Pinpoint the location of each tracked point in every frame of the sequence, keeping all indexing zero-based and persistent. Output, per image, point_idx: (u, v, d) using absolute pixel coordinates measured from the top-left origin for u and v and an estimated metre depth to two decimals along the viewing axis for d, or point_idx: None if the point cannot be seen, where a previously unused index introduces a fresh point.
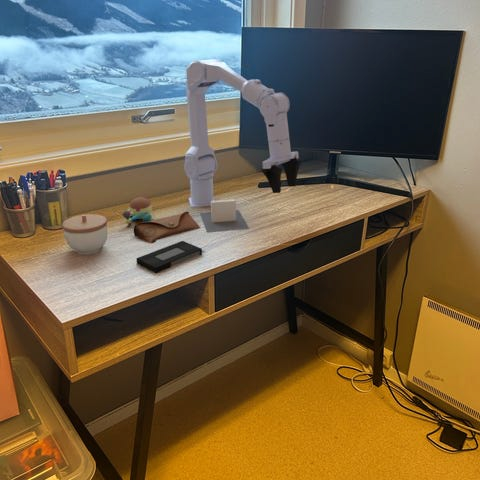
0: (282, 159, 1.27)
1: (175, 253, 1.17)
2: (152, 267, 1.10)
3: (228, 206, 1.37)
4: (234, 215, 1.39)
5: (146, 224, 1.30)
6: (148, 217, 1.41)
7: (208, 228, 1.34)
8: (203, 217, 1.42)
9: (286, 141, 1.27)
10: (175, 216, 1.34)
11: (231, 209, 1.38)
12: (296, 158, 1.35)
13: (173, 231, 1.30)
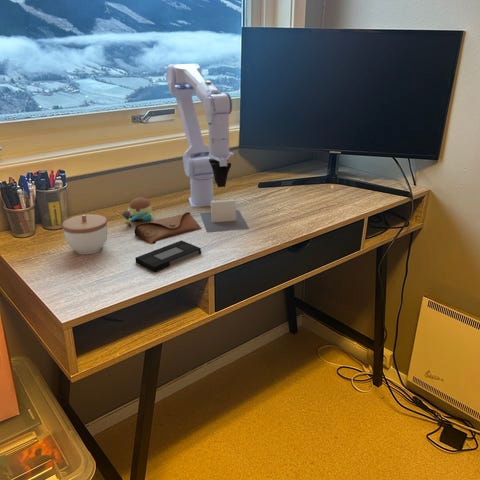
0: (228, 156, 1.35)
1: (174, 252, 1.17)
2: (151, 266, 1.10)
3: (228, 206, 1.37)
4: (234, 215, 1.39)
5: (147, 225, 1.30)
6: (148, 217, 1.41)
7: (208, 228, 1.34)
8: (203, 217, 1.42)
9: None
10: (176, 217, 1.34)
11: (231, 209, 1.38)
12: None
13: (174, 232, 1.29)
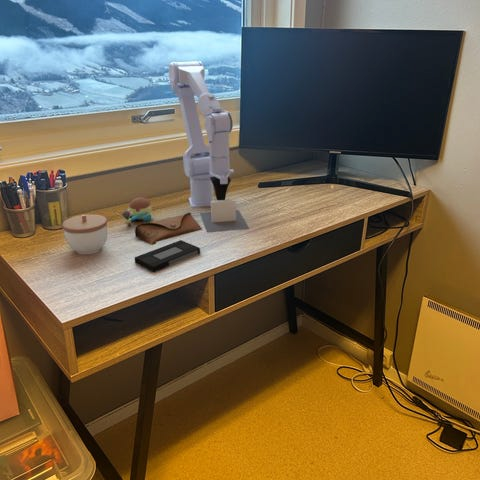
0: (229, 173, 1.37)
1: (173, 252, 1.17)
2: (150, 266, 1.11)
3: (228, 206, 1.37)
4: (234, 215, 1.39)
5: (148, 225, 1.29)
6: (148, 217, 1.41)
7: (208, 228, 1.34)
8: (203, 217, 1.42)
9: None
10: (177, 217, 1.34)
11: (231, 209, 1.38)
12: None
13: (175, 233, 1.29)
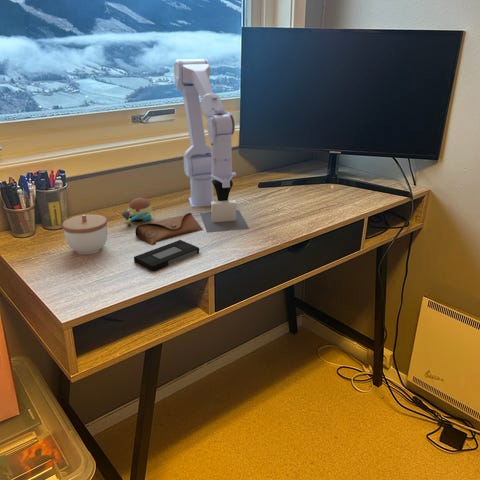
0: (231, 177, 1.33)
1: (172, 252, 1.17)
2: (149, 266, 1.11)
3: (229, 207, 1.37)
4: (234, 215, 1.39)
5: (148, 225, 1.29)
6: (148, 217, 1.41)
7: (208, 228, 1.34)
8: (203, 217, 1.42)
9: (231, 159, 1.33)
10: (177, 218, 1.33)
11: (231, 210, 1.37)
12: None
13: (176, 233, 1.29)
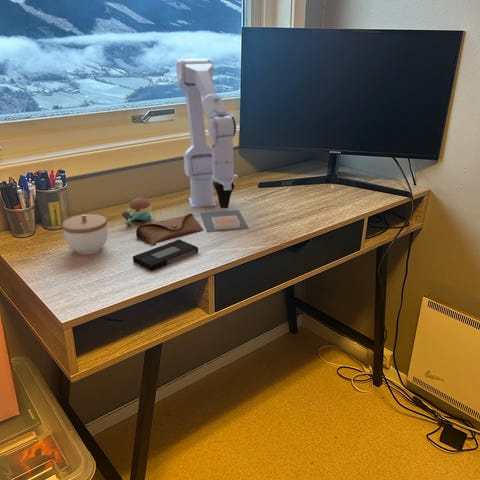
0: (233, 179, 1.31)
1: (171, 251, 1.17)
2: (148, 265, 1.11)
3: None
4: None
5: (149, 226, 1.29)
6: (148, 217, 1.41)
7: (208, 228, 1.34)
8: (203, 217, 1.42)
9: None
10: (178, 218, 1.33)
11: None
12: None
13: (176, 234, 1.28)
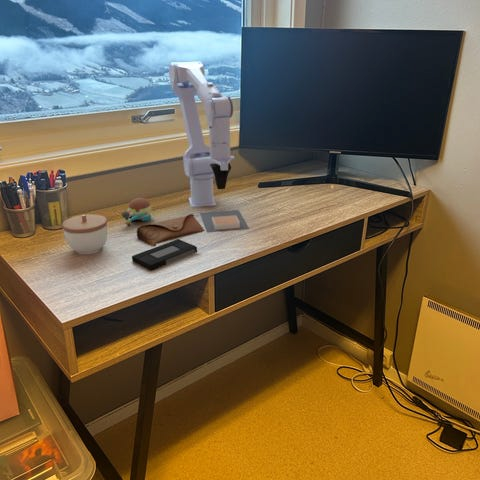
0: (229, 160, 1.34)
1: (170, 251, 1.18)
2: (147, 265, 1.11)
3: None
4: None
5: (149, 226, 1.28)
6: (147, 217, 1.41)
7: (208, 228, 1.34)
8: (203, 217, 1.42)
9: (229, 143, 1.34)
10: (179, 219, 1.32)
11: None
12: None
13: (177, 234, 1.28)
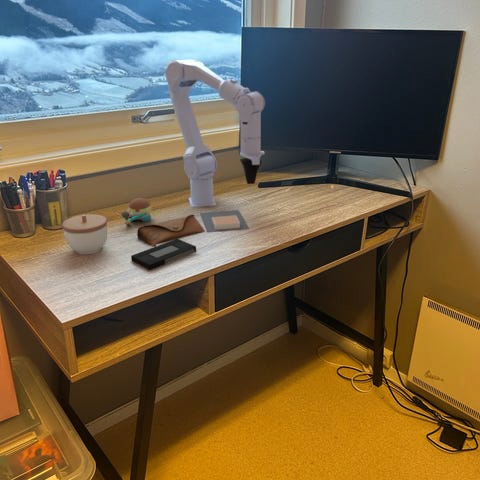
0: (260, 155, 1.36)
1: (169, 251, 1.18)
2: (146, 264, 1.11)
3: None
4: None
5: (150, 227, 1.28)
6: (147, 218, 1.41)
7: (208, 228, 1.34)
8: (203, 217, 1.42)
9: (260, 138, 1.36)
10: (180, 219, 1.32)
11: None
12: None
13: (177, 235, 1.28)
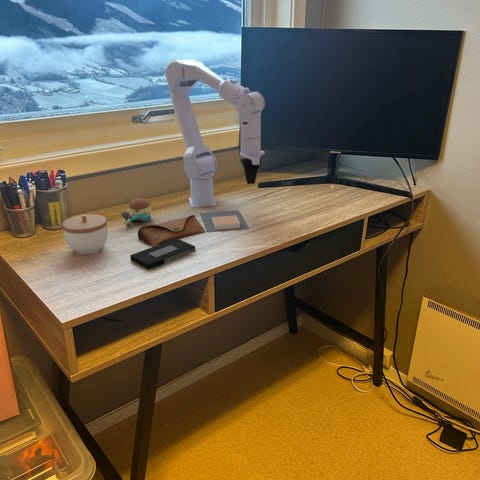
0: (260, 155, 1.36)
1: (168, 250, 1.18)
2: (145, 264, 1.12)
3: None
4: None
5: (150, 227, 1.28)
6: (147, 218, 1.40)
7: (208, 228, 1.34)
8: (203, 217, 1.42)
9: (260, 138, 1.36)
10: (180, 220, 1.32)
11: None
12: None
13: (178, 235, 1.27)
